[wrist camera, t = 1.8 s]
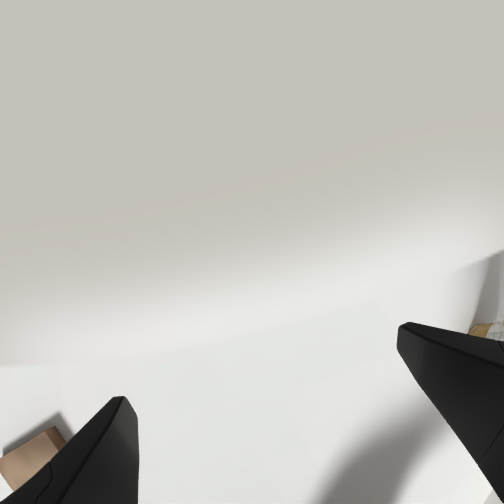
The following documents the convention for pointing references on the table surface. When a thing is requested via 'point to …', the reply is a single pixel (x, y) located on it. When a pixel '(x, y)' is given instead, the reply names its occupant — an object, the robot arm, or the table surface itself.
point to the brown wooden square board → (30, 457)
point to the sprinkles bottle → (489, 330)
